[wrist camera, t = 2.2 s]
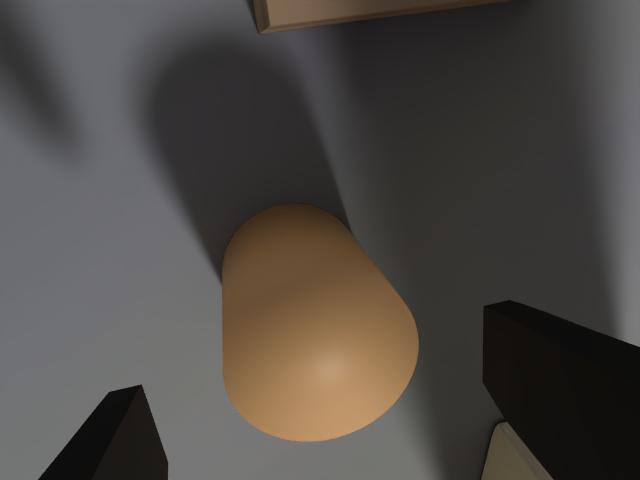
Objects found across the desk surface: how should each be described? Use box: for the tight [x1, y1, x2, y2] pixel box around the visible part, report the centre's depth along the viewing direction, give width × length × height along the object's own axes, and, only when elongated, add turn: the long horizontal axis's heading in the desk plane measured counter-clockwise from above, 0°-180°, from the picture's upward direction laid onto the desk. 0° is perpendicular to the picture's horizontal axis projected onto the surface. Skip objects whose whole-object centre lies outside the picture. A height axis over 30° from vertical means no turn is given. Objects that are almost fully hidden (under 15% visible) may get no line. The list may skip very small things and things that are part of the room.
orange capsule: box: [222, 204, 419, 441], centre depth 12 cm, size 4×4×5 cm
